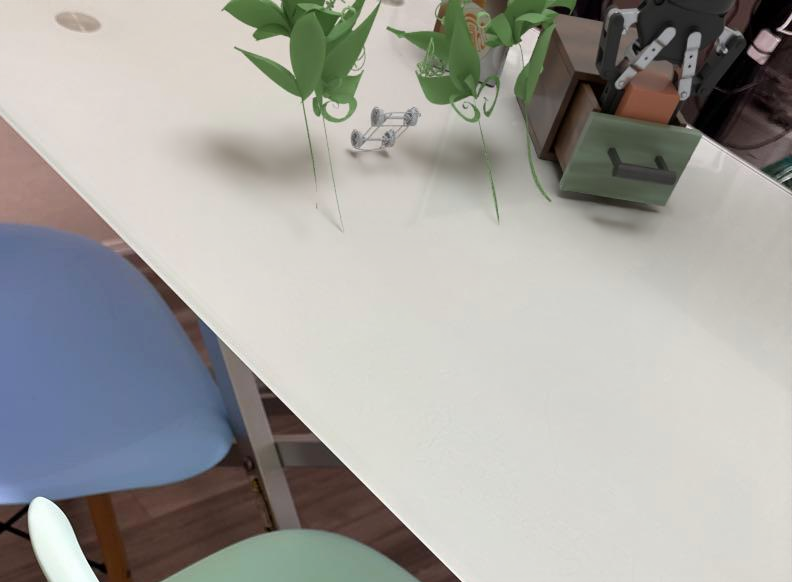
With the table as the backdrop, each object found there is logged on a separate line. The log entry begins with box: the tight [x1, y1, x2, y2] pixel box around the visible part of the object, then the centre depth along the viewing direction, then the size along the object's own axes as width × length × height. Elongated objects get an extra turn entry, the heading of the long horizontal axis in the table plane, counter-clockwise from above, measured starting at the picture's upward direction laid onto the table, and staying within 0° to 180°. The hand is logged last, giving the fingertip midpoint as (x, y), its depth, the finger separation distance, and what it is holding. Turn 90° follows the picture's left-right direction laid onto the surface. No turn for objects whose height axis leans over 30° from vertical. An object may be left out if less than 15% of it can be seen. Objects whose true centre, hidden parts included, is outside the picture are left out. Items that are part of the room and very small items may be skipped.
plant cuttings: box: [220, 0, 577, 231], centre depth 93 cm, size 35×17×22 cm
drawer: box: [552, 79, 703, 207], centre depth 102 cm, size 18×11×8 cm, turn 0°
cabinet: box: [515, 13, 687, 163], centre depth 108 cm, size 15×13×10 cm
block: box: [614, 70, 681, 124], centre depth 98 cm, size 5×5×5 cm
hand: (629, 125), depth 100 cm, fingers closed on block, 5 cm apart
